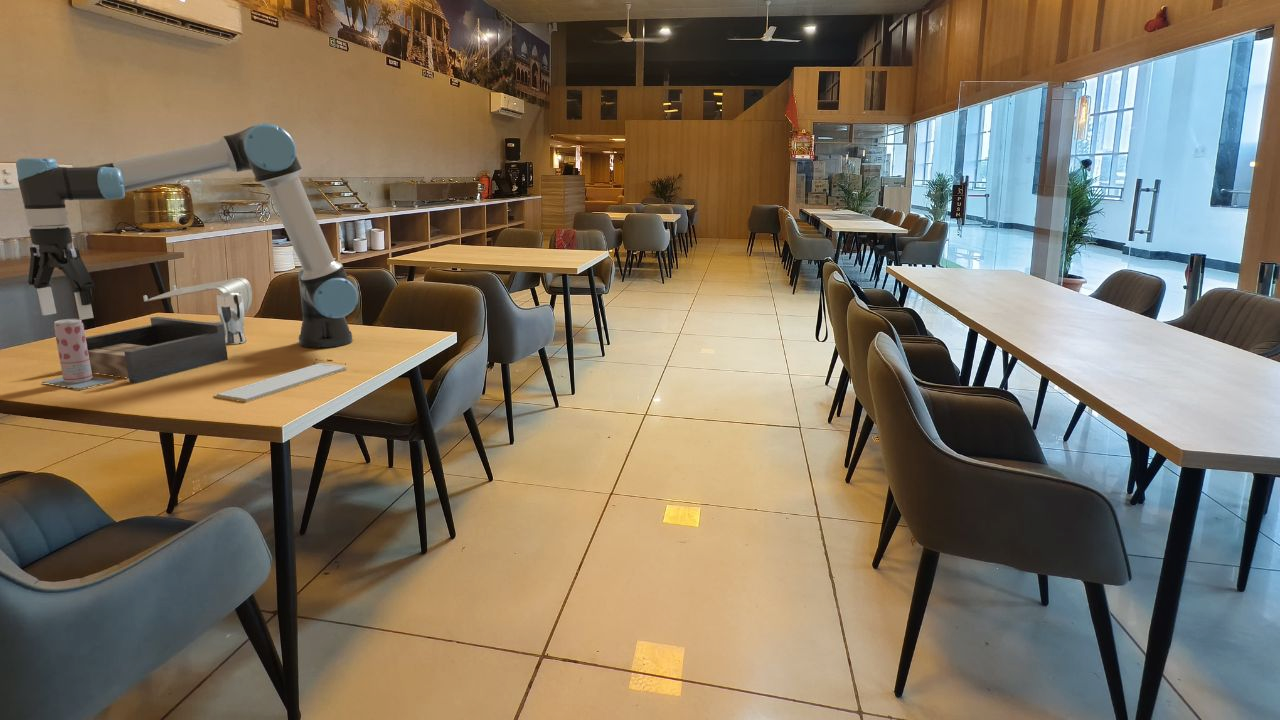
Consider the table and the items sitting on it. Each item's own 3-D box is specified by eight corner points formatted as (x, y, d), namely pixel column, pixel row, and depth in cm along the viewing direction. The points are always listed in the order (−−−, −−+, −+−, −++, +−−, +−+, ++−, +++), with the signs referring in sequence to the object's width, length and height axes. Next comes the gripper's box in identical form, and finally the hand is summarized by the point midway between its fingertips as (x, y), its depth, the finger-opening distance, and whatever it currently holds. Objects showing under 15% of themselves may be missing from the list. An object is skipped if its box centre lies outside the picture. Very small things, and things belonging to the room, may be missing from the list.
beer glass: (252, 341, 223) (246, 293, 219) (230, 345, 217) (223, 296, 214) (240, 338, 227) (234, 291, 223) (217, 342, 221) (210, 294, 217)
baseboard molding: (209, 398, 170) (246, 405, 166) (207, 386, 169) (245, 393, 165) (312, 367, 198) (347, 372, 193) (311, 356, 197) (346, 361, 193)
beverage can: (68, 385, 174) (57, 324, 171) (60, 381, 178) (49, 320, 174) (96, 380, 179) (86, 320, 175) (88, 376, 182) (78, 317, 178)
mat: (114, 381, 180) (114, 380, 179) (80, 390, 172) (79, 388, 172) (77, 375, 184) (76, 373, 184) (42, 383, 177) (41, 381, 177)
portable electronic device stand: (230, 337, 229) (223, 288, 225) (147, 339, 225) (139, 289, 221) (256, 321, 253) (251, 277, 249) (182, 322, 249) (175, 277, 245)
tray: (227, 359, 202) (223, 324, 199) (135, 383, 178) (128, 344, 176) (162, 350, 211) (157, 316, 208) (65, 372, 187) (58, 334, 185)
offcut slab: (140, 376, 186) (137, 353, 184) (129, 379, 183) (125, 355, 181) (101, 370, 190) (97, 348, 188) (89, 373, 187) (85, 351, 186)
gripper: (102, 227, 168) (118, 317, 173) (33, 224, 177) (51, 310, 182) (67, 229, 161) (85, 323, 167) (-3, 226, 170) (17, 315, 175)
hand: (67, 316), depth 174 cm, fingers open, 13 cm apart
